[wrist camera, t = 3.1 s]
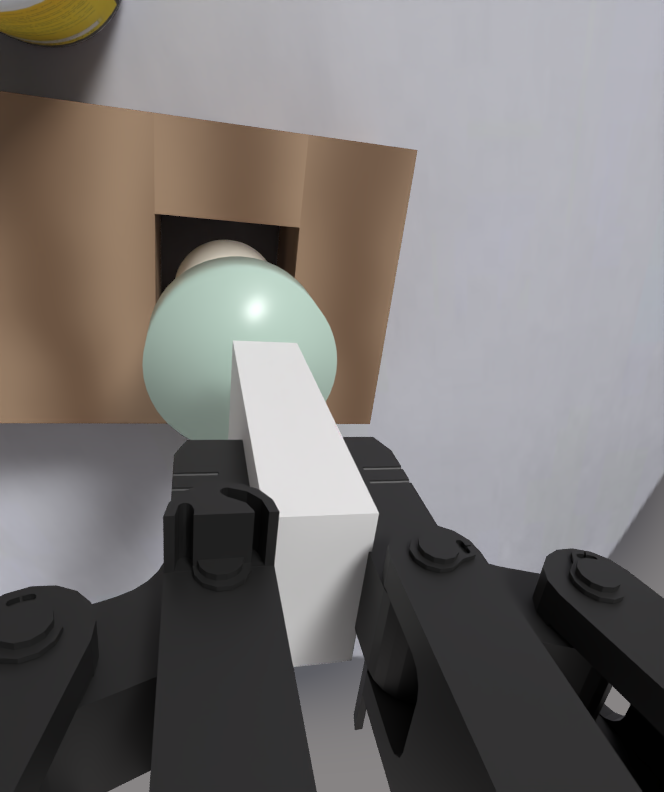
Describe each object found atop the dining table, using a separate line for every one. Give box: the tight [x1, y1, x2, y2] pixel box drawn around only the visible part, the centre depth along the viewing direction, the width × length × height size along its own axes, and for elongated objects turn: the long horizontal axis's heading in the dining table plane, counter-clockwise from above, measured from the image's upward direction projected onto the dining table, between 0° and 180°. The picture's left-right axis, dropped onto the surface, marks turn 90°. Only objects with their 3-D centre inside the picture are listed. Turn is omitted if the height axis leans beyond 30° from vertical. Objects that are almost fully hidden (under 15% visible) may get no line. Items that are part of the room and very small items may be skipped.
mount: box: [0, 91, 417, 424], centre depth 22 cm, size 28×12×5 cm, turn 83°
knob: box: [142, 240, 337, 440], centre depth 18 cm, size 5×5×8 cm
